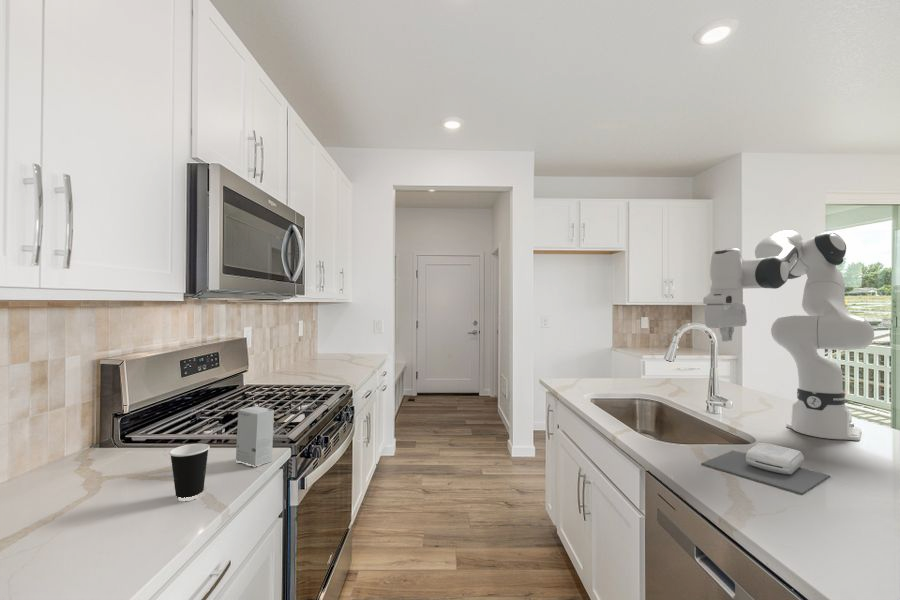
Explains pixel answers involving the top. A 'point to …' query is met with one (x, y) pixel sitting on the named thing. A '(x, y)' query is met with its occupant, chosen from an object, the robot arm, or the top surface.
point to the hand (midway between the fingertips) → (727, 341)
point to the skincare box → (255, 435)
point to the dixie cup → (189, 469)
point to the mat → (767, 473)
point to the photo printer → (774, 458)
